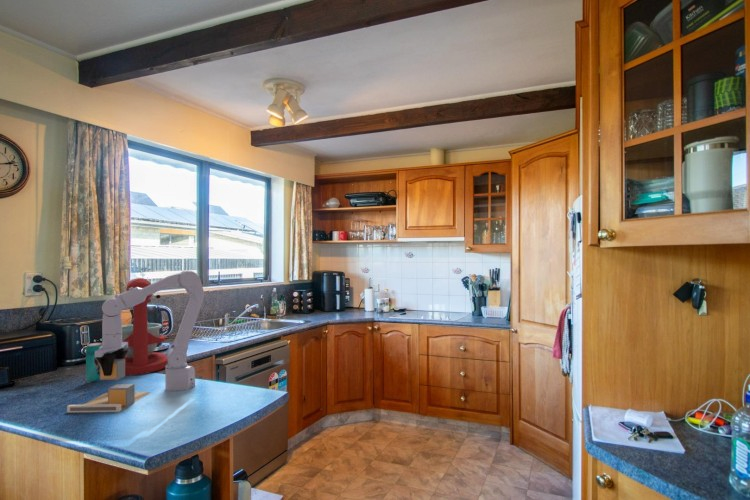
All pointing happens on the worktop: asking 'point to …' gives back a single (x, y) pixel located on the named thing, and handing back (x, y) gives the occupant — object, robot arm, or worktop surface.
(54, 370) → the worktop surface
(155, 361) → the stand mixer
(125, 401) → the faced box
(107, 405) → the rail
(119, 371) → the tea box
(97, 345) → the beverage can
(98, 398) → the shelf board
